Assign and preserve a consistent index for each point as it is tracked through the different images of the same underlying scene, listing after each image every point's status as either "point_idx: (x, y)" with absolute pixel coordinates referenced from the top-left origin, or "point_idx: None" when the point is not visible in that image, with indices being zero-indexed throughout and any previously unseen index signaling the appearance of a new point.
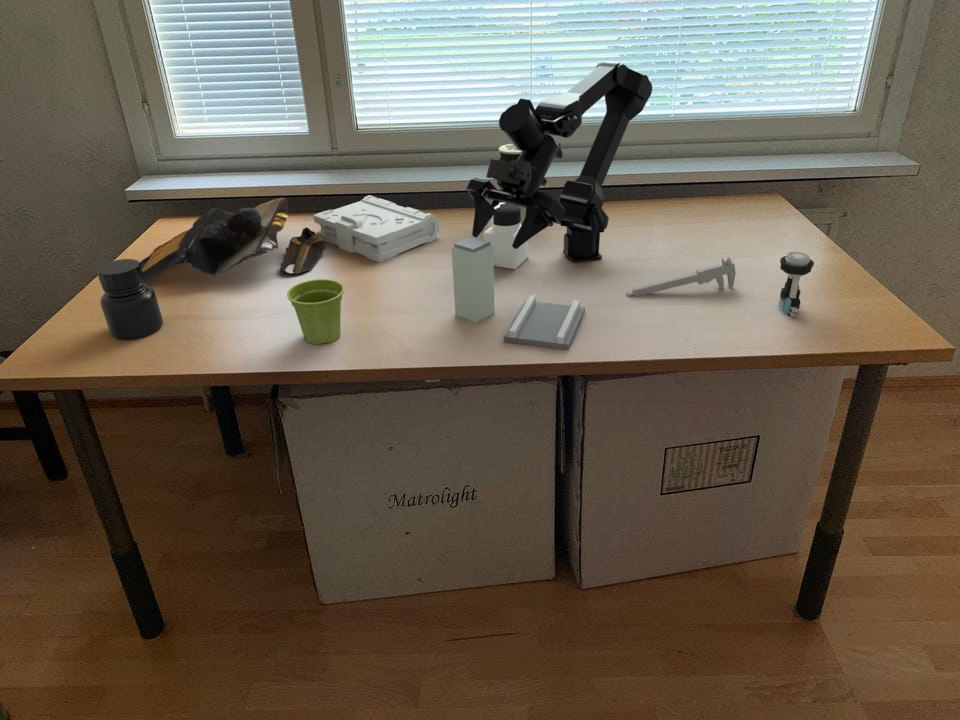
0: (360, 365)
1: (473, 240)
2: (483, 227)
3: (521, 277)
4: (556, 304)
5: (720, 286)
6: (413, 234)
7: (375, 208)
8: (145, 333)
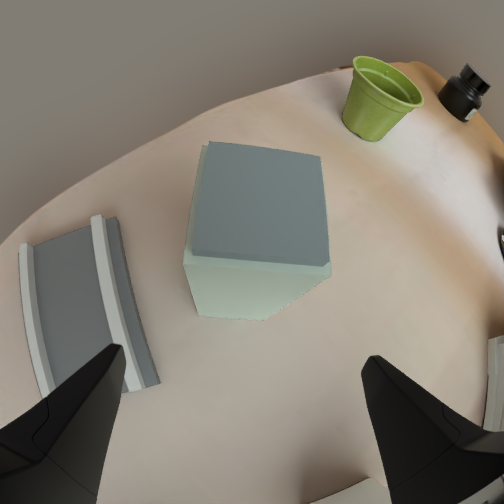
0: (268, 94)
1: (278, 219)
2: (377, 429)
3: (263, 491)
4: None
5: None
6: (501, 418)
7: None
8: (440, 97)
